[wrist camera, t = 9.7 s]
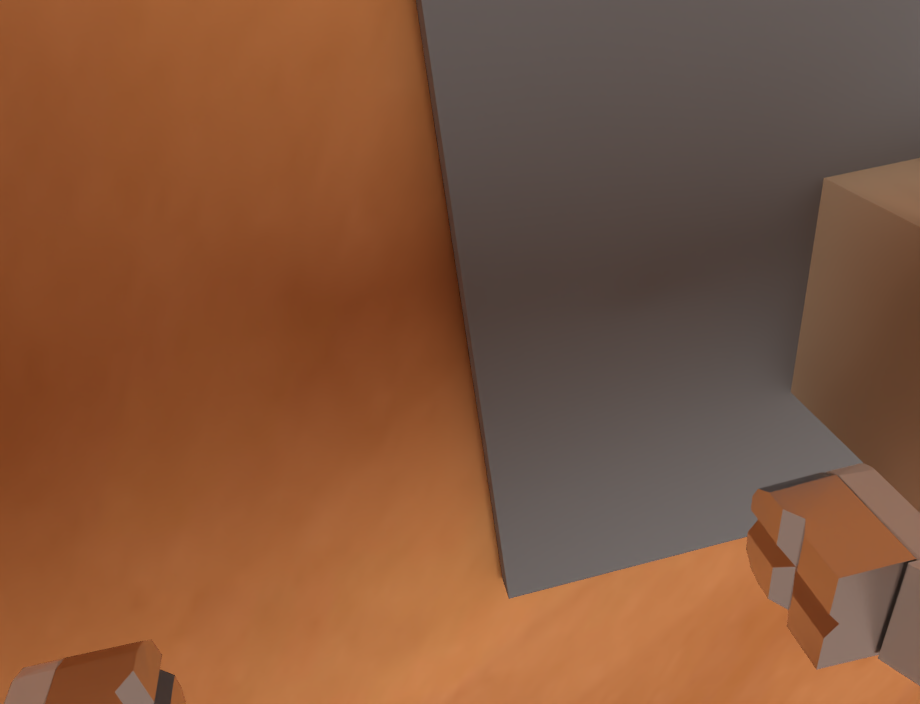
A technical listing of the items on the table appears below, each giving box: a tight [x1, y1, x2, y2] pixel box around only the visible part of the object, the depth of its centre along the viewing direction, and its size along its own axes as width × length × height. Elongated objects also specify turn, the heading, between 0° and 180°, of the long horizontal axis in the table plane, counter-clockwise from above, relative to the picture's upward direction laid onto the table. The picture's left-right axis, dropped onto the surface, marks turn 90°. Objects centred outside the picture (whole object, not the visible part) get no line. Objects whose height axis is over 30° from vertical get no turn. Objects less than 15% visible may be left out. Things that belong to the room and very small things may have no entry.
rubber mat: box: [416, 0, 920, 598], centre depth 15 cm, size 18×14×1 cm
